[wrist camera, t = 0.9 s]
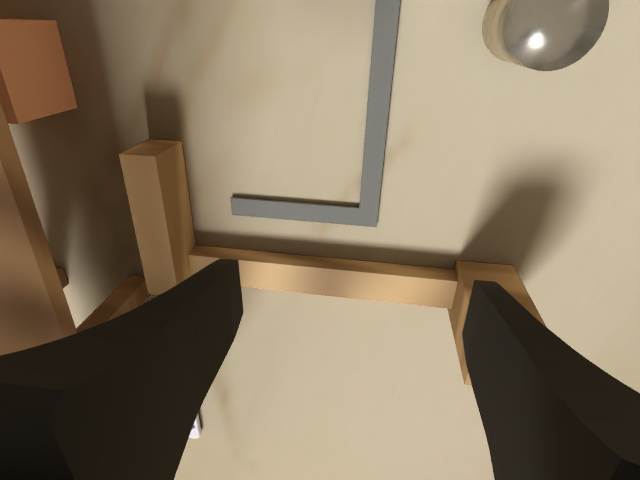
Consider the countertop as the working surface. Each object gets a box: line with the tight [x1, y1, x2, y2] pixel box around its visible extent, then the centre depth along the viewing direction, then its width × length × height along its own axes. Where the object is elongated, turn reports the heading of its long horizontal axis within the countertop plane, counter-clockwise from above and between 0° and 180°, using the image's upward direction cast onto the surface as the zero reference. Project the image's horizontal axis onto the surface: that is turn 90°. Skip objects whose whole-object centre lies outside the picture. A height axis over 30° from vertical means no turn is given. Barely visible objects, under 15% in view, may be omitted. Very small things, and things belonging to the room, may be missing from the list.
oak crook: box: [119, 139, 546, 385], centre depth 20 cm, size 20×9×6 cm, turn 89°
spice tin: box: [482, 0, 609, 71], centre depth 15 cm, size 3×3×4 cm
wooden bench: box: [0, 102, 150, 356], centre depth 19 cm, size 20×7×7 cm, turn 179°
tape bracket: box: [231, 0, 400, 227], centre depth 19 cm, size 12×8×1 cm, turn 179°
